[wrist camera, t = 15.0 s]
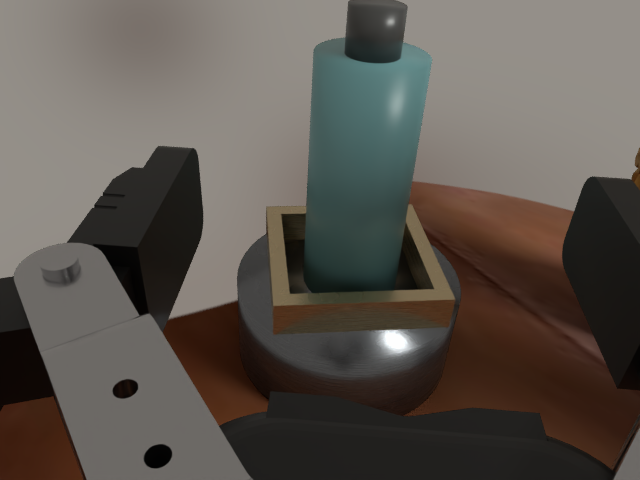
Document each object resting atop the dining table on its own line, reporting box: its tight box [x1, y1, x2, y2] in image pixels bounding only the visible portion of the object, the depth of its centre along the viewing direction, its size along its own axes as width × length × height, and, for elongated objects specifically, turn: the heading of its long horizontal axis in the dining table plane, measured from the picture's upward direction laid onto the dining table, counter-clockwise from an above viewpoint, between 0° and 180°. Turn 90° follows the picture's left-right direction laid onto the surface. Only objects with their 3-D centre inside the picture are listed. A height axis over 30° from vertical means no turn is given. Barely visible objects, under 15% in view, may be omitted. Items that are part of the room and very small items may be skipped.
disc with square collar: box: [237, 205, 461, 416], centre depth 32 cm, size 12×12×7 cm
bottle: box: [303, 0, 432, 293], centre depth 27 cm, size 5×5×14 cm
